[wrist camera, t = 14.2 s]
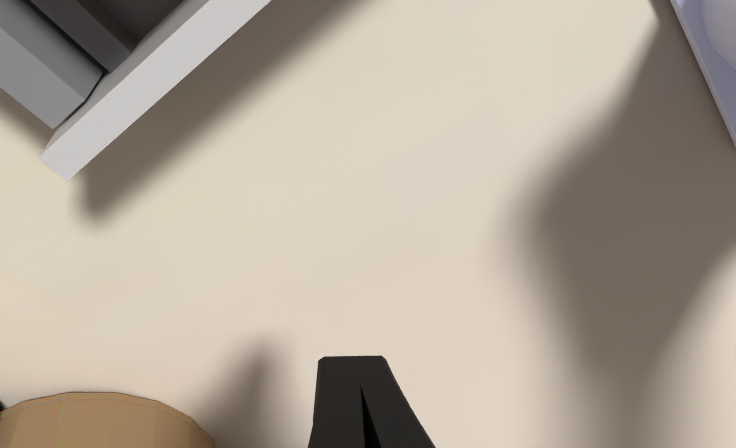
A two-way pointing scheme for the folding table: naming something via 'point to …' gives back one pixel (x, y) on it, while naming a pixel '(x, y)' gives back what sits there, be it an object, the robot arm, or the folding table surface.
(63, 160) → the tray
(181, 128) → the folding table surface
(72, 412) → the alarm clock
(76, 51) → the frame
